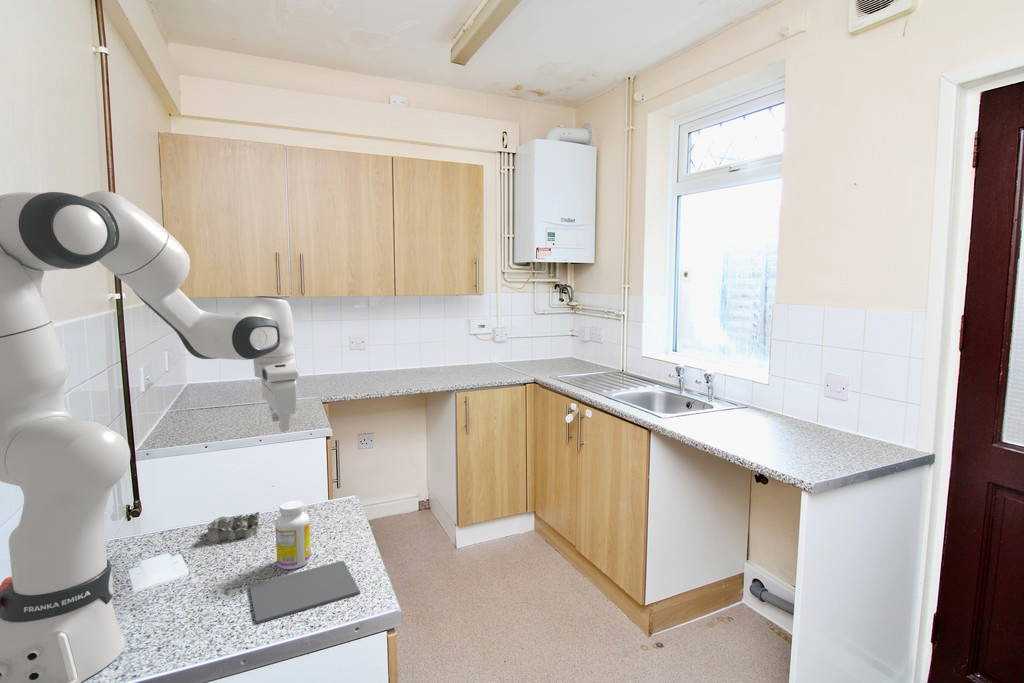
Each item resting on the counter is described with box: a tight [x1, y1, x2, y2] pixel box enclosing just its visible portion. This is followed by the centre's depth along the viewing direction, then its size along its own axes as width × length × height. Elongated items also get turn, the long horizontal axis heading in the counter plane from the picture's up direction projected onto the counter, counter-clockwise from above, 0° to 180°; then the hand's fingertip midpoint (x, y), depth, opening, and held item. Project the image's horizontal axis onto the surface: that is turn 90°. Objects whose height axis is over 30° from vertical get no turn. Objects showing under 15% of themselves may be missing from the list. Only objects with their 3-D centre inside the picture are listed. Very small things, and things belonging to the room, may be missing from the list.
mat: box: [249, 560, 361, 625], centre depth 101 cm, size 18×13×1 cm
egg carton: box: [206, 511, 260, 543], centre depth 124 cm, size 11×8×4 cm
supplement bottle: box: [274, 500, 312, 570], centre depth 111 cm, size 7×7×13 cm
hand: (280, 425), depth 122 cm, fingers open, 8 cm apart
